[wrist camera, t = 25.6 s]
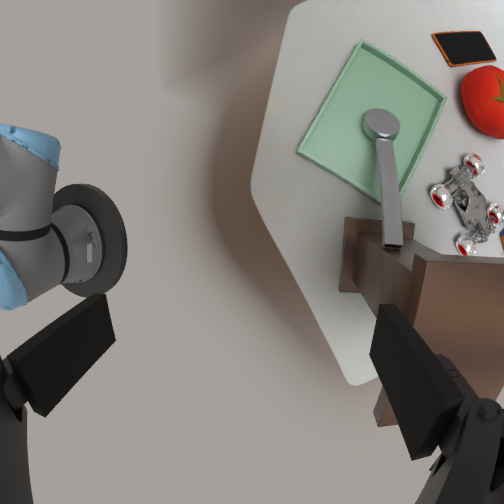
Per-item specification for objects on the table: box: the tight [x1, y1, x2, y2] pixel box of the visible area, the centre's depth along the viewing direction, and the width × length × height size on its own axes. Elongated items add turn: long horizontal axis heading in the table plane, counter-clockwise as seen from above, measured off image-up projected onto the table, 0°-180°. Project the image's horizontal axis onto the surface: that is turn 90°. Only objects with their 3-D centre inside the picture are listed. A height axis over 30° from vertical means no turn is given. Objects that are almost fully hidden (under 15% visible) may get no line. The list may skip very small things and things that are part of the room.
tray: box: [296, 39, 447, 205], centre depth 37 cm, size 23×17×2 cm
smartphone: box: [432, 31, 496, 67], centre depth 30 cm, size 8×17×1 cm, turn 114°
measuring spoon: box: [363, 108, 403, 248], centre depth 33 cm, size 22×6×2 cm
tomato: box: [461, 65, 504, 139], centre depth 29 cm, size 14×13×10 cm
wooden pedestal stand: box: [339, 217, 504, 427], centre depth 29 cm, size 14×14×29 cm
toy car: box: [430, 153, 504, 256], centre depth 37 cm, size 15×12×5 cm
